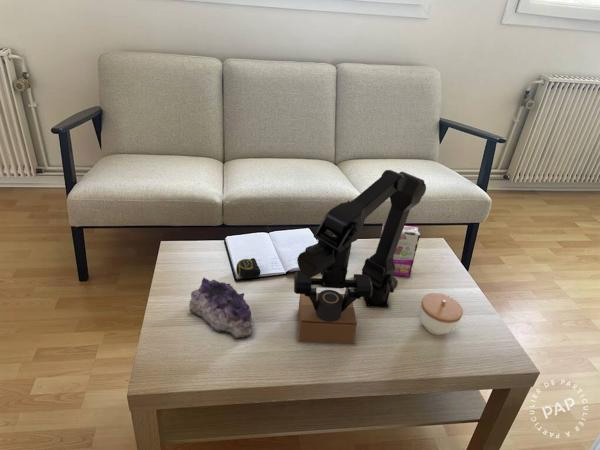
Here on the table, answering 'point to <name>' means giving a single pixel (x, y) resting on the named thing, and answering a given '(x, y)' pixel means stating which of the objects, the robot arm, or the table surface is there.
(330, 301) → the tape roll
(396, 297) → the table surface
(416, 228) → the candy bar box
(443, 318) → the trinket box
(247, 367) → the table surface
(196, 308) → the geode
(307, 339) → the carton
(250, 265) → the tape measure
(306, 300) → the flap
